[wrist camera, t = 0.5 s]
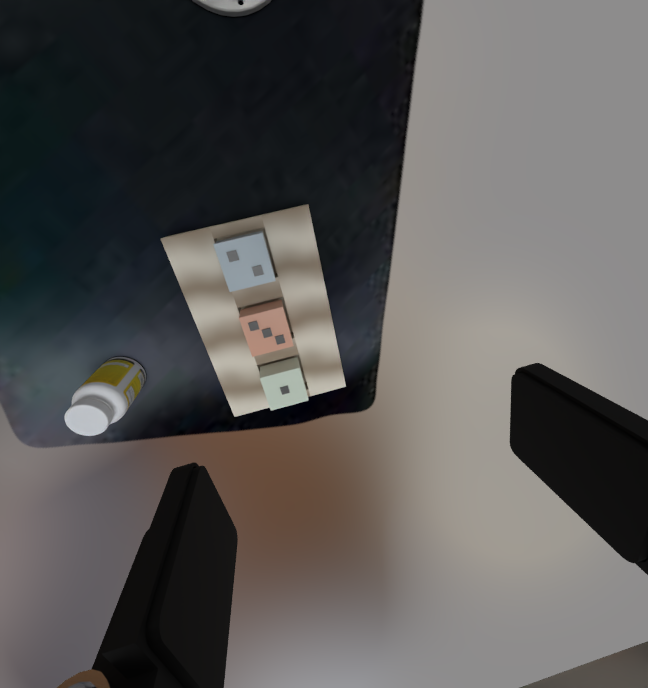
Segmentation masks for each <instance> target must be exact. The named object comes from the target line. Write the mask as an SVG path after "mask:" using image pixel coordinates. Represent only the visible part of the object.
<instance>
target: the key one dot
mask: <svg viewBox="0 0 648 688" xmlns="http://www.w3.org/2000/svg"><path fill="white" fill-rule="evenodd" d="M260 381H261V384H262V386H263V389H264V392H265V395H266V398H267V401H268V404H269V407H270V409H271V410H275V409H279V408H282V407H286V406H290V405H293V404H297V403H301V402H304V401H308V395H307V391H306V387H305V383H304V379H303V376H302V372H301V368H300V365H299V361H298V358H297V357H295V358H291V359H287V360H284V361H280V362H276V363H272V364H268V365H265V366H261V367H260Z"/></svg>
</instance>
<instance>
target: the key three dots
mask: <svg viewBox="0 0 648 688" xmlns="http://www.w3.org/2000/svg"><path fill="white" fill-rule="evenodd" d="M239 320H240V323H241V326H242V329H243V332H244V335H245V337H246V340H247V343H248V346H249V349H250V352H251V355H252V357H254V356H258V355H262V354H266V353H269V352H273V351H277V350H281V349H285V348H289V347H292V346H294V345H293V340H292V336H291V332H290V328H289V325H288V321H287V318H286V314H285V310H284V307H283V303H282V300H278V301H274V302H270V303H266V304H262V305H258V306H254V307H250V308H246V309H242V310H240V315H239Z"/></svg>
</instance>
